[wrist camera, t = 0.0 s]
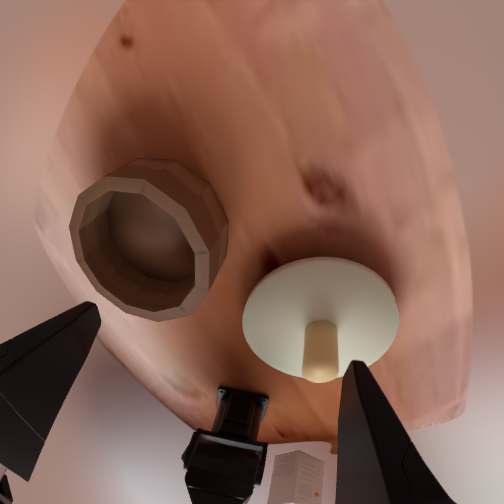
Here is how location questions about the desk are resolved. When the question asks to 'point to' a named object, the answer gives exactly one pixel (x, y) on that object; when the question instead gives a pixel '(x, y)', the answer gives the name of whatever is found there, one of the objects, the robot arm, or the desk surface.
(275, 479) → the small box
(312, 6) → the desk surface
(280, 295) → the lid
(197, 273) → the box
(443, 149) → the desk surface
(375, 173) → the desk surface
